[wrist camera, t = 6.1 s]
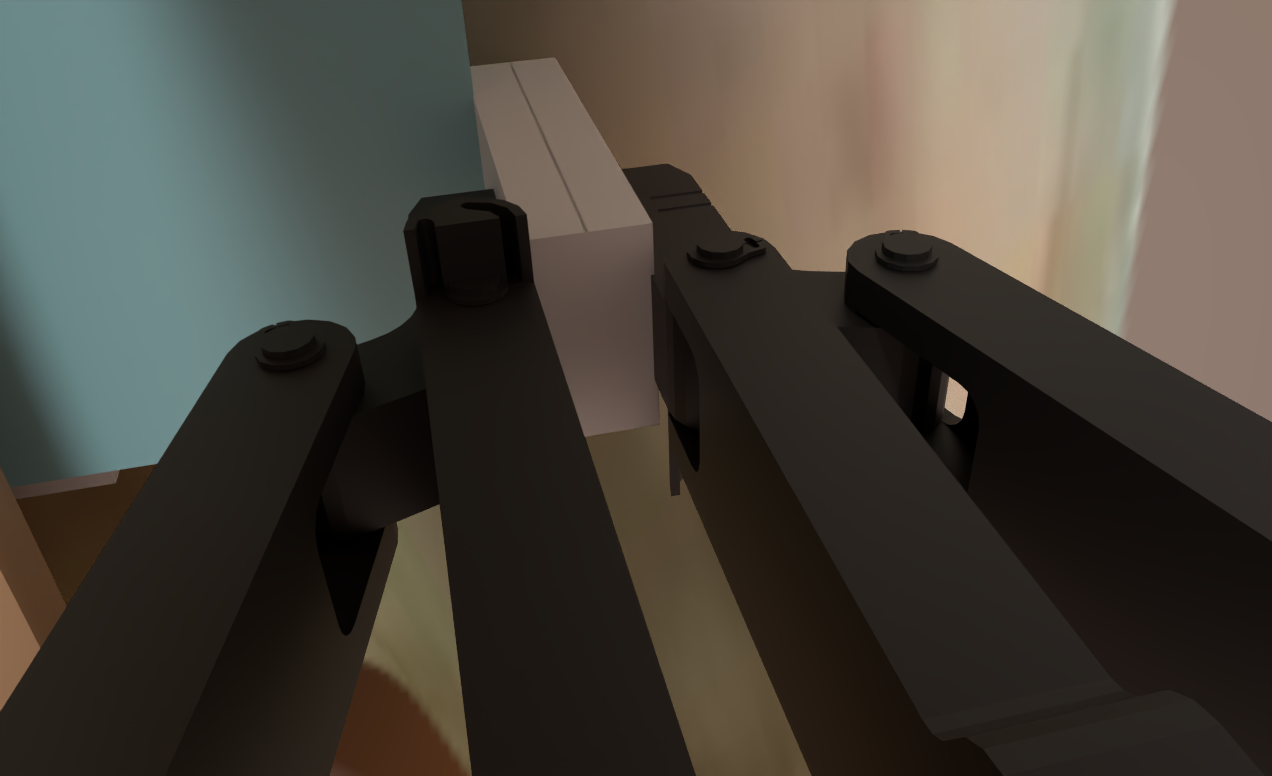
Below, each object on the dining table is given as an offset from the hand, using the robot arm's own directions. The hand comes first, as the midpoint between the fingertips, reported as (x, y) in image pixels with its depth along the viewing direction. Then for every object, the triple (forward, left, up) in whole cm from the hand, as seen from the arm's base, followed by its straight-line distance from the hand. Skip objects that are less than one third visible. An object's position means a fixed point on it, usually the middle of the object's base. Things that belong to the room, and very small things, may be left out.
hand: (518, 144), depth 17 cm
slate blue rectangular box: (-6, 0, -2) cm, 6 cm away
